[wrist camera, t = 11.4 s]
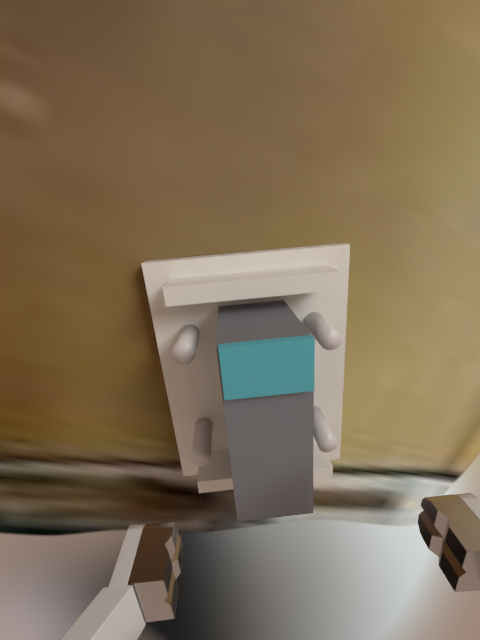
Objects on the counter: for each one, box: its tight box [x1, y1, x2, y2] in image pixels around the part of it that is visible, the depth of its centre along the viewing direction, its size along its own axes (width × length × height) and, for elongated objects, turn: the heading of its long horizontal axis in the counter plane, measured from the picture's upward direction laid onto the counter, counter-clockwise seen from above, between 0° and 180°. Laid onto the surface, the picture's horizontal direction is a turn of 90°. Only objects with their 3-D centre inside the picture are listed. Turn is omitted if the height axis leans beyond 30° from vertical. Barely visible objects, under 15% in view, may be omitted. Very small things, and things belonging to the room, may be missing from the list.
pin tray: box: [141, 243, 350, 493], centre depth 18 cm, size 12×16×4 cm
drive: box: [216, 300, 315, 522], centre depth 16 cm, size 4×10×6 cm, turn 5°
